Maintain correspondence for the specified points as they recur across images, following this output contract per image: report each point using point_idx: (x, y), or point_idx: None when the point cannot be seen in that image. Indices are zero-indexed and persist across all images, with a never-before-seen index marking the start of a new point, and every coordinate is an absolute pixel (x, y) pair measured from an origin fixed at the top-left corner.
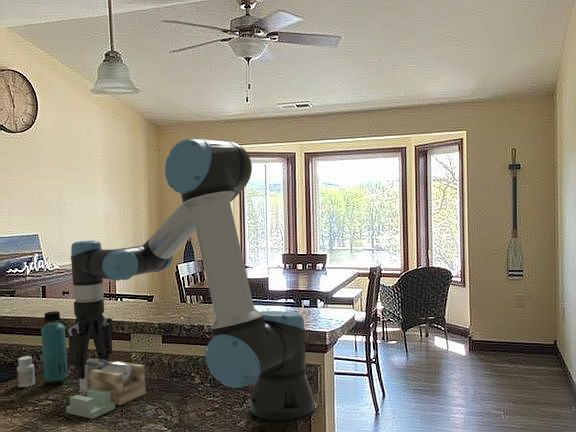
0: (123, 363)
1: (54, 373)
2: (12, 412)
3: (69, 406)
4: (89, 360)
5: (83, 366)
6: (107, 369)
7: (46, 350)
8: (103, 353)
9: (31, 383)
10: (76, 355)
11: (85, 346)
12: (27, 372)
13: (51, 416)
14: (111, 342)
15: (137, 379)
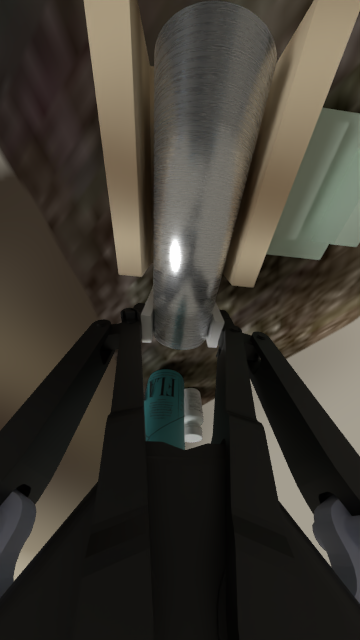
0: (130, 206)
1: (179, 384)
2: (294, 346)
3: (319, 252)
4: (190, 339)
5: (232, 325)
6: (235, 216)
7: (184, 439)
8: (138, 330)
9: (191, 391)
10: (285, 361)
11: (243, 382)
12: (197, 409)
13: (325, 273)
14: (70, 352)
15: (148, 95)
